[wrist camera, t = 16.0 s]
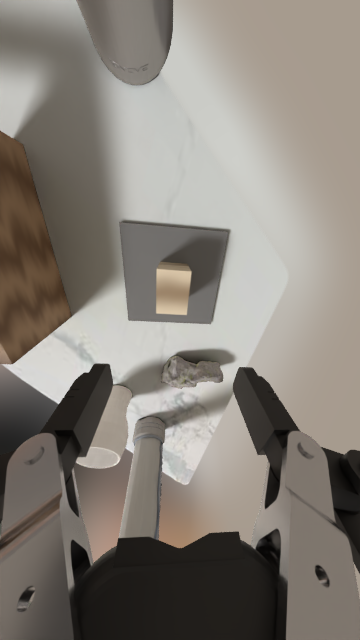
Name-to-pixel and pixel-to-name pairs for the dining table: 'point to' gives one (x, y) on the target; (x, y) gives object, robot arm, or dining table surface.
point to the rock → (190, 372)
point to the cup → (110, 432)
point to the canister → (144, 481)
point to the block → (172, 288)
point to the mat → (175, 247)
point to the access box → (25, 261)
